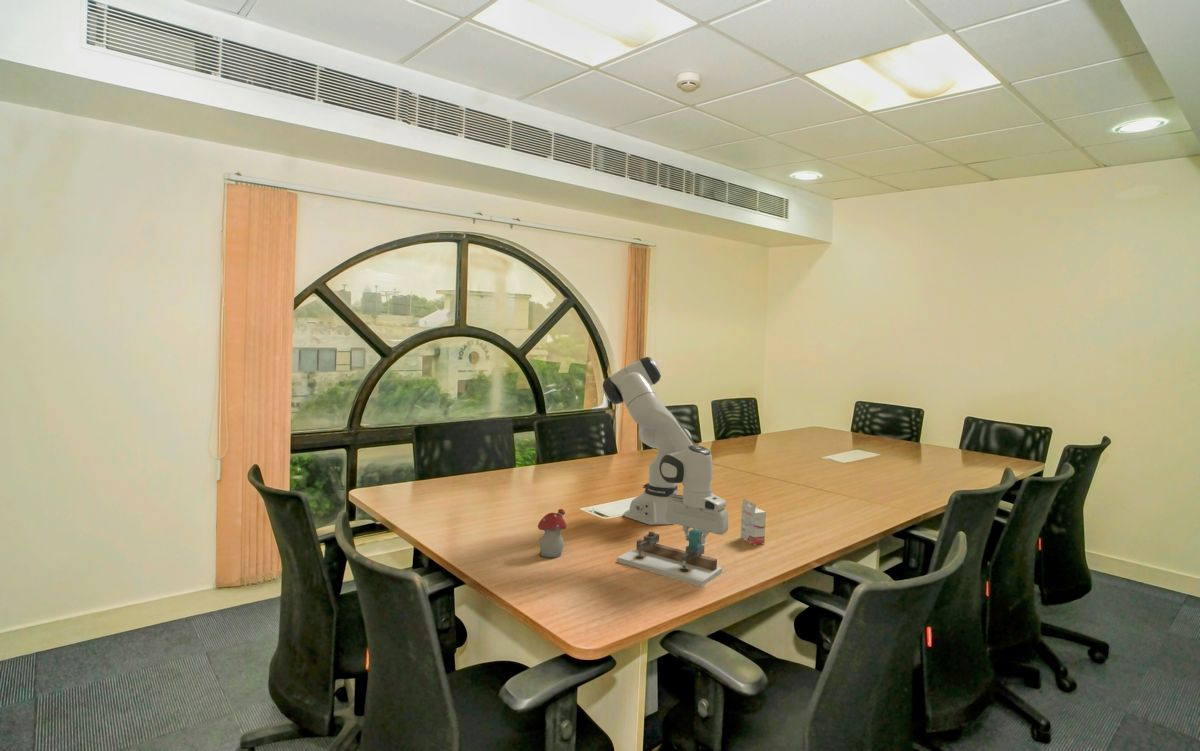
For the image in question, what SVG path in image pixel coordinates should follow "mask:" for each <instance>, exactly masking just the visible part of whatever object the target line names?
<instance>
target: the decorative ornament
mask: <svg viewBox="0 0 1200 751" xmlns="http://www.w3.org/2000/svg"><path fill="white" fill-rule="evenodd" d="M565 511H566V510H564V509H563V508H560V509H558V510H557V512H548V513H547V514H545V515H544V516H543V517H542V518H541V520H539V522H538V524H537V528H538V529H539V530H540V531H544V534H543V535H542V536H541V538H540V541H539V550H540V551H539V555H540V557H543V558H547V559H548V558H549V559H550V558H558V557H560V556H561V555H562V554H563V553H562V552H563V549H564V547H565V544H564V538H563V537H562V535H561V531H562V530H566V529H567V524H566V521H565V519H564V518H563V516H564V515H565V514H566V512H565Z"/></svg>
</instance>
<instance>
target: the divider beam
mask: <svg viewBox="0 0 1200 751" xmlns="http://www.w3.org/2000/svg"><path fill="white" fill-rule="evenodd" d="M658 542H660V534H658V533H655V531H652V530H651V531H648V534H645V535H643V539H638V540H636V547H635V548H636V550H639V554H638V555H641V551H644V552H647V553H651V554H654V555H658V556H662V557H665V558H669V559H673V560H676V561H680V562H683V560H682V556H683V555H685V553H686V550H682V549H679V548H675V547H671V546H667V545H664V544H659V543H658ZM686 563H687V564H691V565H694V566H698V567H702V568H705V569H709V570H713V571H714V570H716V569H717V567H718V559H716V558H713V557H710V556H705V555H703V554H702V555H701V556H699V557H697V558H696V557H691V558H689V559H688V560H686Z"/></svg>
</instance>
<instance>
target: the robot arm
mask: <svg viewBox="0 0 1200 751" xmlns="http://www.w3.org/2000/svg"><path fill="white" fill-rule="evenodd" d="M660 369H661V368H660V366H659V364H658V363H657V362H656V361H655V360H654V359H652V357H649V356H646V357H642V358H639V360H637V361H634V362H632V363H630V364H628V365H626V366H624V367H623V368H621V369H620V370H617V371H616V372H615V373H614V374H612V375H611V376H608V377H607V378H605V380H603V382H602V390H603V391H602V392H603V395H604V396H605V398H606V399H607V401H609V402H611V404H613V405H614V404H615V405H618V404H619V405H620V404H622V403H623V404H624V405H625V407H626V410H627V411H628V413H629V415H630V417H631V418H632V419H633V421H634V422H635V423H636V424H637V425H639V429H638V438H639V440H640V442H642V443H643V444H645V445H646V446H648V447H649V448H653V449H657V454H656V457H655V459H654V460H652V461H651V462H650V463H649V465H648V466H649V470H648V482H647V483H645V484H643V485H642V489H644V491H643V492H642V493H640V494H639V495H637V496H636V497H634V498H633V499H632V500H631V502H630V505H629V509H626V510H625V511H624V512H623V517H625V518H628V519H632V520H635V521H636V522H641V523H642V524H646V525H650V526H653V525H654V526H655V525H677V526H681V527H682V531H683V533H684V535H685V541H688V542H689V531H690V530H689V529H697V530H702V537H700V538H698V541H699V542H698V543H699V544H702V545H704V544H705V543H706V538H707V536H708V535H709V533H712V534H715V535H720V536H721V535H725V534H726V533H727V532H728V530H729V514H728V511H727V509H726V506H727V500H725V499H724V498H722V497H720V496H718V495H716V494H714V492H712V491H713V489H712V488H713V487H712V480H713V476H714V475H713V474H714V470H713V469H714V466H713V464H714V463H713V456H712V453H711V451H710V449H708V448H707V447H704V446H702V445H697V444H696V443H695V441H694V440H693V439H692V434H691V432H690V431H689V430H688V429H686V428H685V427H684V426H683V425H682V424H681V422H680V420H678V418H677V417H676V415H674V414H673V413H672V412H671V411H670V410H669V409H668V408H667V407H666V406H665V404H664V403H663V402H662V400H660V397H659V395H658V394H657V392H656V390H655V389H654V387H653V385H656V384H657V383H658V382H659V381H660V380H661V377H662V376H661V370H660ZM678 484H682V486H683V488H682V495H681V494H678Z"/></svg>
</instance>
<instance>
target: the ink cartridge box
mask: <svg viewBox="0 0 1200 751" xmlns="http://www.w3.org/2000/svg"><path fill="white" fill-rule="evenodd" d="M741 505H742V506H741V516H740V517H741V520H740V522H741V523H740V538H741V539H742V538H743V539H742V540H744V539H745V540H747V541H749V542H751V543H753V544H758V545H763V544H762V543H764V544H765V540H766V539H765V538H766V517H767V513H766V512H767V511H765V510H762V509H759V508H758V507H757V504H756V503H753V502H752V501H749V500H748V499H745V498H743V499H742V504H741ZM745 540H744V541H745ZM747 541H746V542H747ZM749 542H748V543H749ZM751 543H750V544H751ZM753 544H752V545H753Z"/></svg>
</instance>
